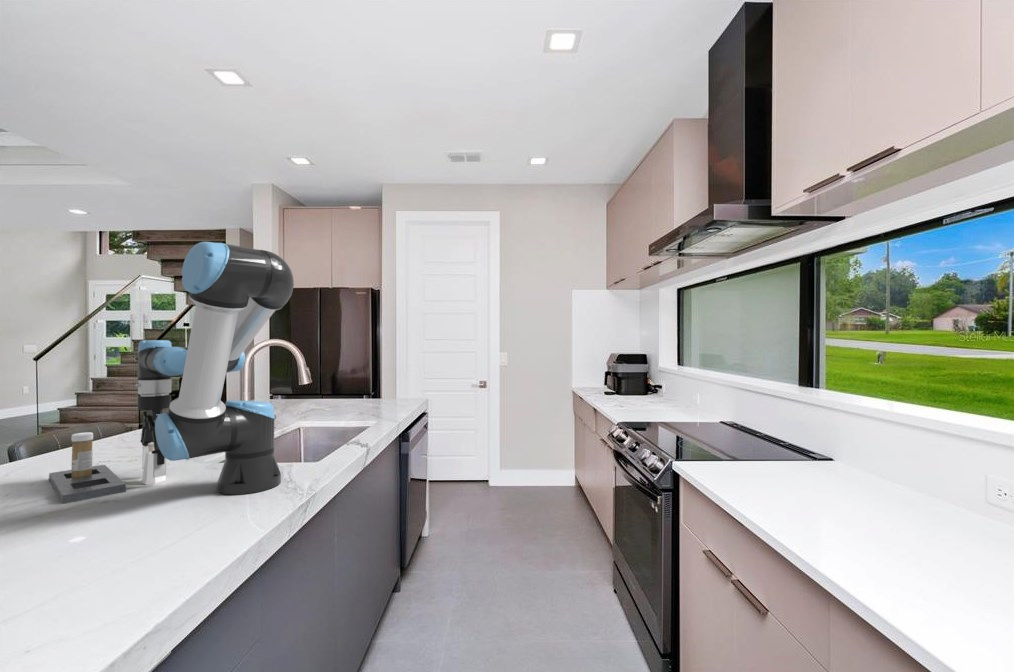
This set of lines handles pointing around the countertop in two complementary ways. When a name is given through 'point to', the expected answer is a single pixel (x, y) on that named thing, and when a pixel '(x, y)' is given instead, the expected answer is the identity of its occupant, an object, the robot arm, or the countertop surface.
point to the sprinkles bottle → (82, 454)
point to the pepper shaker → (150, 468)
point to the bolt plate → (86, 484)
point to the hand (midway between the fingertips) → (153, 472)
